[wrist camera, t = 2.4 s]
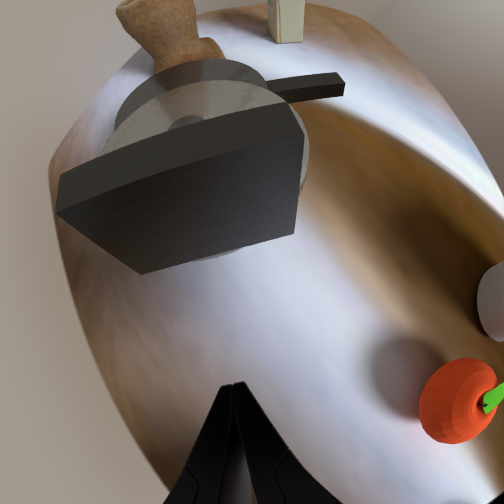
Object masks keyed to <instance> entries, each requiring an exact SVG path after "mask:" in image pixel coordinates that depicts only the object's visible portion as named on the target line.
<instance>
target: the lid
mask: <svg viewBox="0 0 504 504" xmlns="http://www.w3.org/2000/svg"><path fill="white" fill-rule="evenodd" d="M308 160H309V140H308V136H307V131H306V129H305V126H304V124H303V122H302V120H301V118H300V117H299V115H298V114H297V112H296V111H295V110H294V109H293V108H292V107H291V106H290V104H288V102H286V101H285V100H283V99H282V98H281V97H279V96H278V95H276V94H275V93H273V92H271V91H269V90H267V89H264V88H262V87H259V86H256V85H253V84H249V83H245V82H239V81H230V80H214V81H204V82H197V83H192V84H188V85H185V86H181V87H178V88H175V89H172V90H170V91H168V92H165V93H163V94H161V95H159V96H157V97H155V98H154V99H152V100H150V101H148V102H147V103H145V104H144V105H142V106H141V107H140V108H138V109H137V110H136V111H135V112H133V113H132V114H131V115H130V116H129V117H128V118H127V119H126V120H125V121H124V122H123V123H122V124H121V125H120V126H119V127H118V128H117V129H116V131H115V132H114V133H113V135H112V136H111V138H110V139H109V141H108V142H107V144H106V146H105V148H104V149H103V152H102V154H101V156H100V157H97V158H95V159H93V160H91V161H88V162H86V163H84V164H82V165H80V166H77V167H75V168H73V169H71V170H69V171H67V172H65V173H63V174H61V175H60V181H59V187H58V195H57V203H56V212H55V213H56V214H57V215H58V216H60V217H61V218H62V219H63V220H65V221H66V222H67V223H69V224H70V225H71V226H73V227H74V228H75V229H77V230H78V231H79V232H81V233H82V234H83V235H85V236H86V237H87V238H89V239H90V240H92V241H93V242H94V243H96V244H97V245H98V246H100V247H101V248H103V249H104V250H105V251H107V252H108V253H110V254H111V255H113V256H114V257H115V258H117V259H118V260H120V261H121V262H123V263H124V264H126V265H127V266H129V267H130V268H132V269H133V270H135V271H136V272H138V273H139V274H141V275H142V274H146V273H150V272H153V271H157V270H161V269H164V268H168V267H172V266H175V265H179V264H183V263H186V262H190V261H202V260H207V259H212V258H217V257H220V256H223V255H226V254H229V253H232V252H235V251H237V250H239V249H241V248H244V247H246V246H250V245H253V244H257V243H261V242H265V241H268V240H272V239H276V238H280V237H284V236H287V235H291V234H294V229H295V221H296V213H297V205H298V197H299V195H300V193H301V191H302V188H303V185H304V182H305V179H306V174H307V167H308Z"/></svg>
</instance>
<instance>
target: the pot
mask: <svg viewBox="0 0 504 504" xmlns="http://www.w3.org/2000/svg"><path fill="white" fill-rule="evenodd" d="M214 80H230V81H239V82H245V83H249V84H253V85H256V86H259V87H262V88H264V89H267V90H269V91H271V92H273V93H275V94H276V95H278V96H279V97H281V98H282V99H283V100H285V101H286V102H288V104H289V103H295V102H301V101H307V100H314V99H322V98H330V97H339V96H343V93H344V88H345V82H344V81H343V80H342V78H341V77H340V76H339V75H338V73H337V72H333V73H322V74H312V75H304V76H296V77H289V78H282V79H276V80H270V81H265V80H264V78H263V77H262V76H261V75H260V74H259V73H258V72H257V71H256V70H254V69H253V68H251V67H250V66H248V65H246V64H243V63H240V62H237V61H233V60H227V59H201V60H194V61H189V62H185V63H181V64H178V65H175V66H172V67H170V68H168V69H165V70H163V71H161V72H159V73H157V74H155V75H154V76H152V77H150V78H149V79H147V80H146V81H145V82H143V83H142V84H141V85H139V86H138V87H137V88H136V89H135V90H134V91H133V92H132V93H131V94H130V95H129V96H128V97H127V99H126V100H125V101H124V103H123V104H122V106H121V108H120V110H119V111H118V114H117V117H116V120H115V131H116V129H117V128H118V127H119V126H120V125H121V124H122V123H123V122H124V121H125V120H126V119H127V118H128V117H129V116H130V115H131V114H132V113H133V112H135V111H136V110H137V109H138V108H140V107H141V106H142V105H144V104H145V103H147V102H148V101H150V100H152V99H154V98H155V97H157V96H159V95H161V94H163V93H165V92H168V91H170V90H172V89H175V88H178V87H181V86H185V85H188V84H192V83H197V82H204V81H214Z"/></svg>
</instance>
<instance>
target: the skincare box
mask: <svg viewBox="0 0 504 504" xmlns="http://www.w3.org/2000/svg"><path fill="white" fill-rule="evenodd" d="M267 2H268V29H269V31H270V33H271V35H272V36H273V38H274V40H275V41H276V43H277V44H278V43H292V42H302V41H303V25H304V5H305V0H267Z"/></svg>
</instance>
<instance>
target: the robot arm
mask: <svg viewBox="0 0 504 504" xmlns="http://www.w3.org/2000/svg"><path fill="white" fill-rule="evenodd" d="M185 465H186V466H184V467H183V470H182V472H181V474H180V476H179V478H178V480H177V482H176V483H175V485H174V487H173V489H172V490H171V492H170V494H169V495H168V497H167V498H166V500H165V501H164V503H163V504H253V502H252V489H251V480H252V484H253V487H254V491H255V494H256V497H257V501H258V504H343V503H341V502H340V501H339V500H338V499H337V498H336V497H334V496H333V495H332V494H331V493H330V492H329V491H328V490H327V489H325V488H324V487H323V486H322V485H321V484H320V483H319V482H318V481H317V480H316V479H315V478H314V477H313V476H312V475H311V474H310V473H309V472H308V471H307V470H306V469H305V468H304V467H303V466H302V464H301V463H300V462H299V461H298V459H297V458H296V457H295V455H294V454H293V453H292V451H291V450H290V449H289V447H288V446H287V444H286V443H285V441H284V440H283V439H282V437H281V436H280V434H279V433H278V431H277V430H276V428H275V427H274V426H273V424H272V423H271V421H270V420H269V418H268V417H267V415H266V414H265V412H264V411H263V409H262V408H261V406H260V404H259V403H258V401H257V400H256V398H255V397H254V395H253V394H252V392H251V391H250V389H249V387H248V386H247V384H246V383H245V382H244V381H241V382H237V383H234V384H227V385H223V386H221V387H220V389H219V391H218V393H217V395H216V398H215V400H214V402H213V404H212V407H211V409H210V411H209V413H208V416H207V418H206V420H205V422H204V424H203V427H202V429H201V431H200V433H199V435H198V437H197V440H196V442H195V444H194V446H193V448H192V450H191V453H190V455H189V457H188V459H187V461H186V463H185ZM488 504H504V491H503V492H501V493H500V494H499V495H498V496H497V497H495V498H494V499H493V500H492V501H490V502H489V503H488Z"/></svg>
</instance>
